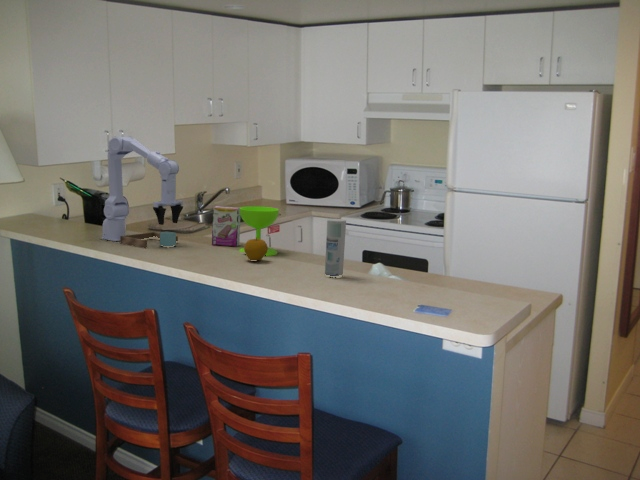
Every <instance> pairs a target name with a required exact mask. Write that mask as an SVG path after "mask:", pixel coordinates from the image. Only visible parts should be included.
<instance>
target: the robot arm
mask: <svg viewBox="0 0 640 480" xmlns="http://www.w3.org/2000/svg"><path fill="white" fill-rule="evenodd" d="M133 152H135V153H136V154H138V155H140V156H141V157H143V158H145V159H146V163H148V164H149V165H151V166H152V167H154V168H155V169H156V170H158V172H159V174H160V178H161V179H160V180H161V183H160V184H161V185H160V186H161V187H160V188H161V195H160V201H159V200H158V201H154V202H152V203H153V205H152V209H153V211H154V213H155V215H156V218H157V221H158V225H161V226H164V224H165V214H166V211H167V208H166V207H170V210H171V220H172V223H173V224H178V222H179V217H180V215H181V213H182V211H183V209H184V201H183V200H181V199H179V200H178V199H177V200H176V198H177V197H176V196H177V194H176V193H177V187H176V186H177V174H179V172H180V165H179V164H178V162H177V161H175V160H170V159H169V158H168V157H165V156H164V155H162V154H161V152H160V151H158V150H157V151H155V150H154V151H151V150H150V149H148V147H145V146H144V145H143V144H142V143H140V142H139V141H138V139H136V138H134V137H132V136H118V135H117V136H113V137H111V139H109V141H108V151H107V170H108V191H109V196H108V197H107V199H105V201H104V208H103V215H104V217H105V219H104V220H103V223H102V236H101V237H100V239H102V240H108V241H112V242H120V236H126V219H127V216H128V215H129V214H130V206H129V205H128V199H127V198H126V197H125V196H124V188H123V169H122V167H123V165H122V159H124V157H125V156H126V155H129V154H130V153H133ZM164 207H165V208H164Z"/></svg>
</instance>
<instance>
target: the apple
mask: <svg viewBox="0 0 640 480" xmlns="http://www.w3.org/2000/svg"><path fill="white" fill-rule="evenodd" d="M243 248H244V250H245V253H246V255H245V256H246V257H247V258H248V260H249V259H250V260H260V259H261V260H262V259H263V258H264V257H266V256H265V254H266V253H267V250H268V248H269V247H268V244H267V242H266V241H265V240H264V239H262V238H261V239H257V238H256V237H255V238H252V239H251V238H250V239H248V240H247V241H246V242H245V243H244V247H243ZM250 260H249V261H250ZM261 260H260V261H261Z"/></svg>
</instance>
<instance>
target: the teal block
mask: <svg viewBox="0 0 640 480" xmlns="http://www.w3.org/2000/svg"><path fill="white" fill-rule="evenodd" d="M159 233H160V241H159V246H160V245H163V246H173V245H177V244H176V236H177V233H176V232H174V231H173V232H172V231H162V232H161V231H160V232H159Z"/></svg>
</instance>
